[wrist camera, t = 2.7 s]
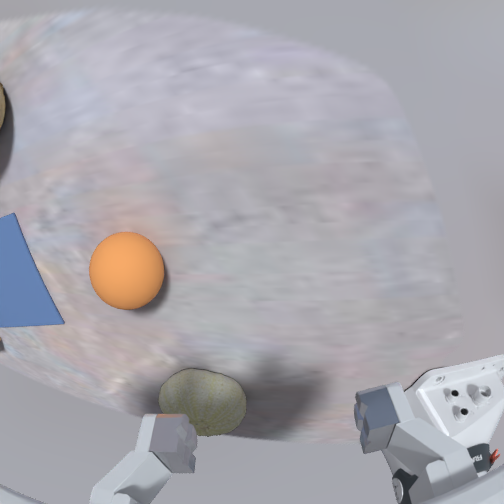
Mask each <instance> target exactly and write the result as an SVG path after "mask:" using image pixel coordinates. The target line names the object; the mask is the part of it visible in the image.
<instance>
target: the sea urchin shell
mask: <svg viewBox="0 0 504 504" xmlns="http://www.w3.org/2000/svg"><path fill="white" fill-rule="evenodd" d="M246 400H247V399H246V395H245V393H244V392H243V390H242V388H241V386H240V384H238V382H236V381H235V380H234V379H232V378H230V377H227V376H224V375H222V374H221V373H213V372H210V371H207V370H198V369H192V368H191V369H185V370H182V371H180V372H178V373H177V374H175V375H173V376H171V377H170V378H169V379H168V380H167V382H165V383H164V384H163V385H162V388H161V390H160V393H159V399H158V401H159V402H158V403H159V406H160V408H161V411H162V413H163V414H186V415H187V416H188V418H189V423H190V424H192V425H193V426H194V428H195V430H196V433H197V435H199V436H207V437H209V436H213V435H216V436H217V435H221V434H224V433H229V432H231V431H233V430H234V429H235V428H237V426H239V424H240V423H241V421H242V419H243V418H244V415H245V414H246V410H247V409H246Z"/></svg>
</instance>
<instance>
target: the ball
mask: <svg viewBox="0 0 504 504" xmlns="http://www.w3.org/2000/svg"><path fill="white" fill-rule="evenodd" d="M89 275H90V280H91V284H92V286H93V288H94V290H95V292H96V293H97V295H98V296H99V297H100V298H101V299H102V300H103V301H104V302H105V303H107V304H108V305H110V306H112V307H115V308H118V309H123V310H131V309H137V308H140V307H142V306H144V305H146V304H147V303H149V302H150V301H151V300H152V299H153V298H154V297H155V296H156V295H157V293H158V292H159V290H160V288H161V286H162V283H163V278H164V264H163V260H162V257H161V254H160V253H159V251H158V249H157V248H156V246H155V245H154V244H153V243H152V242H151V241H150V240H149V239H147V238H146V237H144V236H142V235H140V234H137V233H132V232H120V233H116V234H113V235H111V236H109V237H107V238H106V239H104V240H103V241H102V242H101V243H100V244H99V245H98V246H97V248H96V249H95V251H94V252H93V255H92V257H91V260H90V266H89Z"/></svg>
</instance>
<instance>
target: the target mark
mask: <svg viewBox="0 0 504 504" xmlns="http://www.w3.org/2000/svg"><path fill="white" fill-rule="evenodd" d="M54 324H64V321H63V319H62V317H61V315H60V314H59V312H58V310H57V308H56V306H55V304H54V302H53V300H52V298H51V296H50V294H49V292H48V290H47V288H46V286H45V284H44V282H43V280H42V278H41V276H40V274H39V272H38V269H37V267H36V265H35V263H34V261H33V258H32V256H31V254H30V251H29V249H28V246H27V244H26V242H25V239H24V237H23V234H22V232H21V229H20V226H19V224H18V221H17V218H16V215H15V213H12V214H9V215H7V216H4V217H2V218H0V327H19V326H38V325H54Z"/></svg>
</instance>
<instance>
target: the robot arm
mask: <svg viewBox="0 0 504 504" xmlns="http://www.w3.org/2000/svg"><path fill="white" fill-rule="evenodd" d="M503 376H504V354H501V355H496V356H493V357H489V358H485V359H480V360H476V361H472V362H467V363H463V364H458V365H454V366H448V367H443V368H438V369H433V370H430V371H428V372H426V373H425V374H424V375H423V376H421V377H420V378H419V379H418V380H417V381H416V382H415V384H414V385H413V386H412V387H410V388H409V389H408V390H406V391H405V392H404V391H403V389H402V386H401V384H400V383H399V382H394V383H390V384H387V385H382V386H378V387H374V388H370V389H367V390H363V391H359V392H357V393H356V396H355V399H356V402H357V403H356V404H355V405H354V417H355V422H356V426H357V429H358V430H360V431H361V435H360V442H361V445H362V449H363V453H364V454H366V453H370V452H374V451H378V450H381V451H382V452H383V454H384V456H385V458H386V460H387V463H388V465H389V467H390V469H391V472H392V474H393V478H392V480H393V488H394V492H395V496H396V500H397V503H398V504H504V464H502V465H501V466H499V467H497V468H495V469H494V470H492V471H490V472H489V473H487V472H488V471H489V469H490V468H491V466H492V465H493V463H494V461H495V460H496V459H497V458H498V457H499V456H500V454H499V455H498V456H495V455H496V454H497V452H498V449H496V450H495V451H494V452H493V454H490V452H489V444H488V443H489V441H490V439H491V437H492V435H493V433H494V431H495V429H496V427H497V425H498V422H499V420H500V418H501V416H502V413H503V411H504V386H503V383H502V381H501V380H502V378H503ZM196 448H197V433H196V430H195V428H194V426H193V425H192V424H190V423H189V418H188V416H187V415H186V414H145V415H144V417H143V418H142V423H141V426H140V431H139V435H138V439H137V443H136V447H135V451H130V452H129V453H128V454H127V455H126V456H125V457H124V458H123V459H122V460H121V461H120V462H119V463H118V464H117V465H116V466H115V467H114V468H113V469H112V470H111V471H110V472H109V473H108V474H107V475H106V476H104V477H103V478H102V479H101V480H100V481H99V482H98V483H97V484H96V485H95V486H94V487H93V490H92V493H91V498H90V502H89V504H150V503H151V502H152V500H153V499H154V498H155V497H156V495H157V494H158V493H159V491H160V490H161V489H162V487H163V486H164V485H165V484H166V482H167V481H168V480H169V478H170V477H171V476H172V473H194V469H195V460H196V458H195V456H194V455H193V454H192V452H193V451H194V450H195V449H196ZM0 504H46V503H43V502H41V501H38V500H36V499H33V498H31V497H28V496H26V495H24V494H21V493H19V492H17V491H14V490H12V489H10V488H8V487H6V486H3V485H1V484H0Z"/></svg>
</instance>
